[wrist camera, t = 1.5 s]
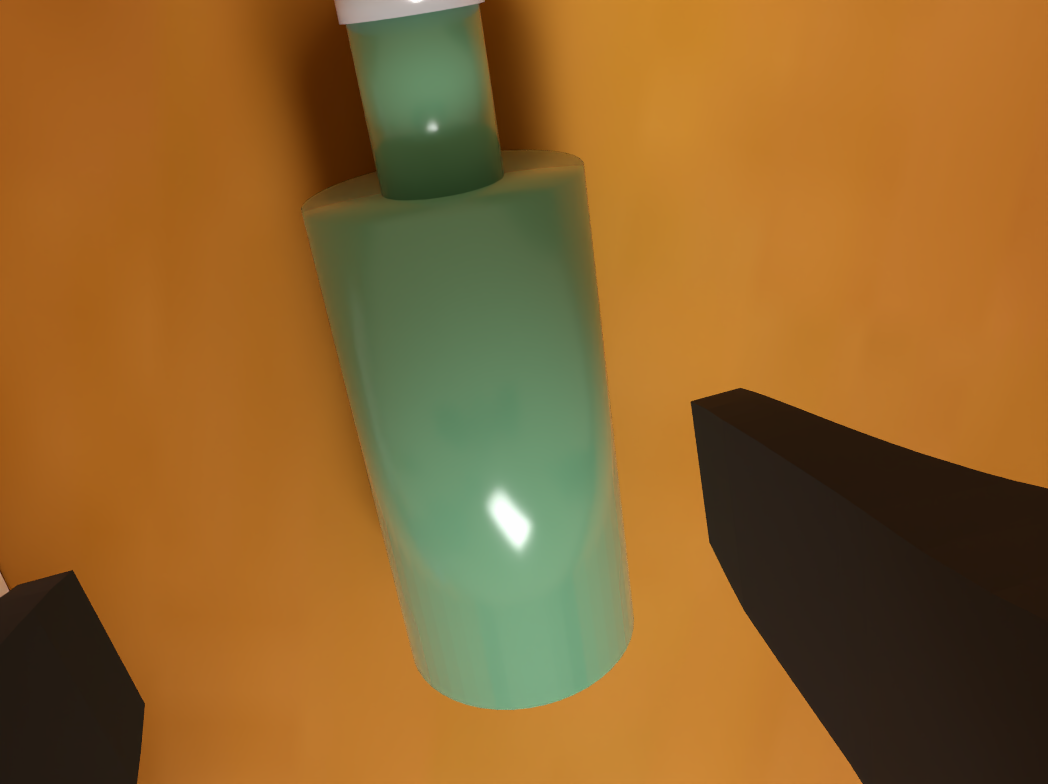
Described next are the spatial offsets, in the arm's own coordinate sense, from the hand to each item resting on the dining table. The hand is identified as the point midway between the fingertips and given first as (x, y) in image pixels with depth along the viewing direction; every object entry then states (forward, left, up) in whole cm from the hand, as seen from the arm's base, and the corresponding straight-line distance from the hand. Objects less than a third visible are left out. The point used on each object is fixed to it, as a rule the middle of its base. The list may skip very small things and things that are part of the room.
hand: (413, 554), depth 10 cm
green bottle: (-1, -2, -10) cm, 10 cm away
